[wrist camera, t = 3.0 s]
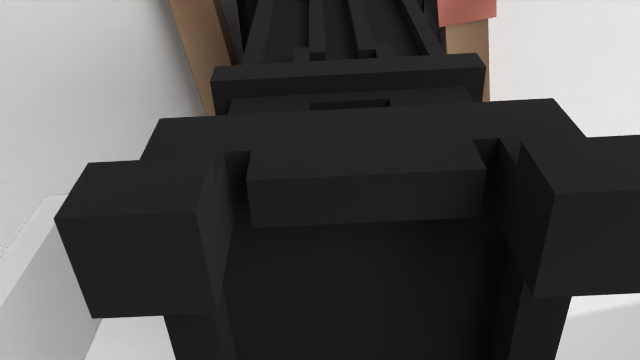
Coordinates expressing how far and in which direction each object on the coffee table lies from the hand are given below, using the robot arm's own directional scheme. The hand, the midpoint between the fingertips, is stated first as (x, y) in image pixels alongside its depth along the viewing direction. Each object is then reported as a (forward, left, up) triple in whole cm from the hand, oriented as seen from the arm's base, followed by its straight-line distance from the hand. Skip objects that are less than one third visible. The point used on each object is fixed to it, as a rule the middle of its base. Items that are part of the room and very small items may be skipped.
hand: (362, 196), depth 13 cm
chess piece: (0, 0, -15) cm, 15 cm away
